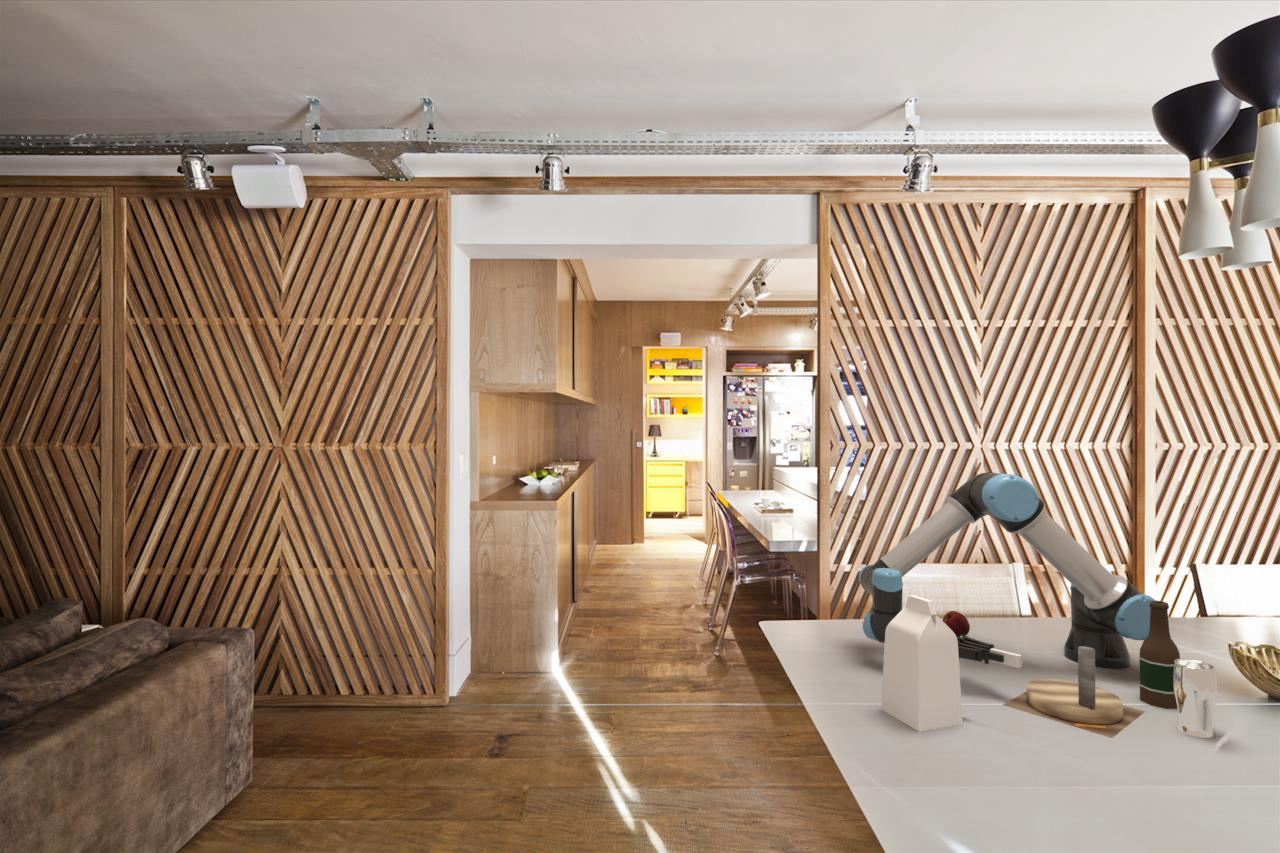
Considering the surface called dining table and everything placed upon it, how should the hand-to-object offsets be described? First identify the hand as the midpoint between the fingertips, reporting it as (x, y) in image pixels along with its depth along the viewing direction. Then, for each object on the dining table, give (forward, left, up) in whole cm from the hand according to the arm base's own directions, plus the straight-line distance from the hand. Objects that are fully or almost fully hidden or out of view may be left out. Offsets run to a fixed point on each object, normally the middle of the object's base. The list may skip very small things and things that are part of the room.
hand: (1020, 661), depth 151 cm
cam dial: (-6, +9, -9) cm, 14 cm away
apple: (-41, -35, -11) cm, 56 cm away
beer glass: (-12, +29, -11) cm, 33 cm away
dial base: (-6, +9, -10) cm, 15 cm away
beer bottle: (-25, +20, -11) cm, 34 cm away
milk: (+23, -11, -11) cm, 27 cm away
